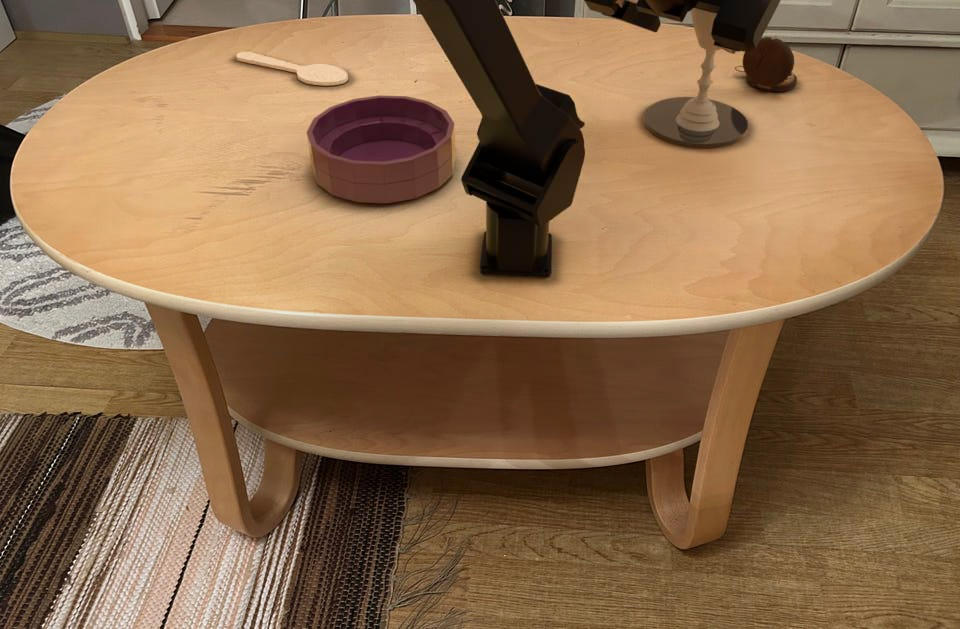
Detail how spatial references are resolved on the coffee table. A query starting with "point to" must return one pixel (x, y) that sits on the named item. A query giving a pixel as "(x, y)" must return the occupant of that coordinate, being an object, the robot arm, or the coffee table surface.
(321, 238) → the coffee table surface
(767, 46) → the compass
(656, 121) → the slate coaster
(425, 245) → the coffee table surface
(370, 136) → the plum bowl
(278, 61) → the spoon
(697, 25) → the chalice
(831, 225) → the coffee table surface
